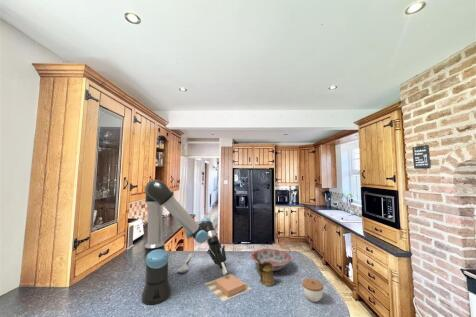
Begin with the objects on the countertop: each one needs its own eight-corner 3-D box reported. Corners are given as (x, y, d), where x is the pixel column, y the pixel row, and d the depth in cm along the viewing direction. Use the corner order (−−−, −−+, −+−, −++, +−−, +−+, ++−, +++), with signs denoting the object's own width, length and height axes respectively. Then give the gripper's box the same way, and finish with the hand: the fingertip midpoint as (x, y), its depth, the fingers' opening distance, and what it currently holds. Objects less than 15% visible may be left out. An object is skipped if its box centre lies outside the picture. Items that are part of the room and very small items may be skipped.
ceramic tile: (215, 280, 118) (228, 291, 106) (231, 274, 125) (245, 283, 114) (215, 286, 117) (228, 297, 106) (231, 279, 124) (245, 289, 113)
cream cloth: (204, 284, 120) (204, 283, 120) (230, 274, 132) (230, 273, 132) (223, 303, 103) (223, 301, 103) (251, 289, 115) (251, 288, 115)
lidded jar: (321, 294, 110) (320, 276, 111) (325, 306, 99) (324, 287, 100) (301, 291, 112) (301, 274, 113) (303, 303, 102) (303, 284, 103)
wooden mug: (251, 280, 125) (251, 251, 127) (272, 278, 127) (271, 249, 129) (254, 287, 116) (254, 256, 118) (276, 286, 118) (275, 255, 120)
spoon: (186, 275, 133) (186, 271, 133) (174, 275, 132) (175, 271, 133) (195, 256, 167) (195, 253, 168) (186, 256, 167) (186, 253, 167)
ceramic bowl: (290, 280, 124) (289, 267, 125) (246, 274, 133) (245, 261, 134) (292, 261, 151) (292, 251, 152) (256, 257, 161) (255, 247, 161)
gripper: (218, 239, 140) (231, 273, 125) (201, 243, 132) (214, 279, 118) (222, 234, 136) (236, 267, 122) (205, 237, 129) (218, 274, 114)
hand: (225, 273), depth 120 cm, fingers closed
